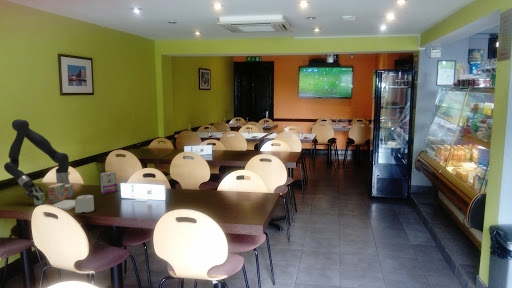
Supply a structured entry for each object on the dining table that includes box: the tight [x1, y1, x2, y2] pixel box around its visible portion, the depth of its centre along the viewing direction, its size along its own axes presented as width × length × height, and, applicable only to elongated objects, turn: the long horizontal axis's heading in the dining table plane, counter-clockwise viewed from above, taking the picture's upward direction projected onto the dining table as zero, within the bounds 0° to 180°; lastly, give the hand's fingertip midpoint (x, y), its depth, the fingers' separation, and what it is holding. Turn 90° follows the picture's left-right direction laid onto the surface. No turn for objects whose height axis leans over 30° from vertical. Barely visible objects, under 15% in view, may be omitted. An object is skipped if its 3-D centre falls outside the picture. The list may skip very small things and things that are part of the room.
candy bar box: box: [99, 171, 117, 195], centre depth 347 cm, size 11×5×16 cm, turn 129°
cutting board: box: [53, 199, 75, 211], centre depth 307 cm, size 20×16×2 cm
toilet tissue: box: [74, 194, 95, 214], centre depth 293 cm, size 11×12×10 cm
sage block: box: [33, 192, 46, 206], centre depth 311 cm, size 5×5×8 cm
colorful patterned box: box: [47, 183, 74, 204], centre depth 326 cm, size 21×6×12 cm, turn 169°
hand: (41, 199), depth 311 cm, fingers closed on sage block, 5 cm apart
